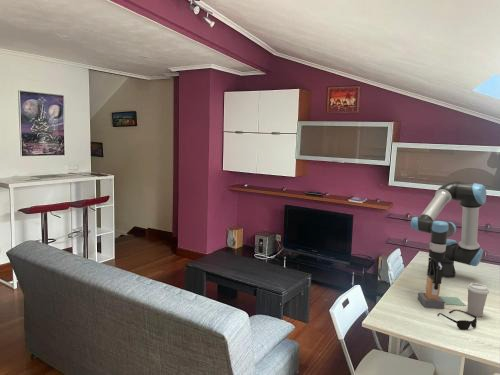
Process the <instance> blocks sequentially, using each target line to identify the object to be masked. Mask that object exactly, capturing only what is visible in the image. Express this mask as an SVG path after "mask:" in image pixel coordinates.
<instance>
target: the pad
mask: <svg viewBox="0 0 500 375" xmlns="http://www.w3.org/2000/svg"><path fill="white" fill-rule="evenodd" d="M439 296H440V295H439ZM440 297H441V298H442V299H443V300H444V301H445V305H447V306H450V305H452V306H463V307H467V305H466V304H465V303H464V302H463V301H462V300H461V299H459V297H457V296H440Z"/></svg>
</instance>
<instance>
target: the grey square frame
mask: <svg viewBox="0 0 500 375" xmlns="http://www.w3.org/2000/svg"><path fill="white" fill-rule="evenodd" d="M417 301H419V303H420V304H421V306H422V307H423V308H427V309H439V310H441V309H442V310H444V309H445V305H446V303H445V301H444V300H443V299H442V298H441V297H440V295H439V298H438V300H435V299H427V298H426V296H425V292H418V293H417Z"/></svg>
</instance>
